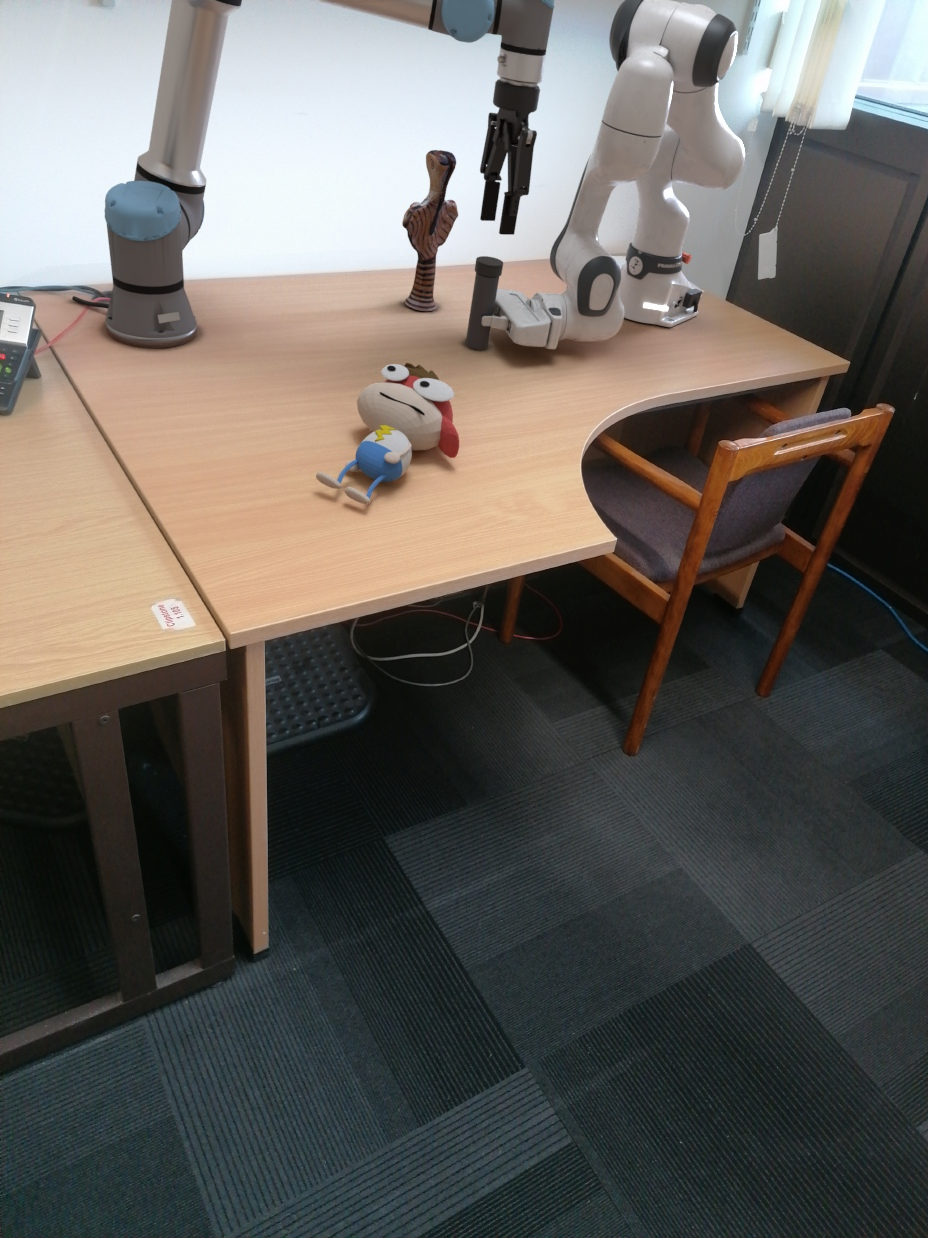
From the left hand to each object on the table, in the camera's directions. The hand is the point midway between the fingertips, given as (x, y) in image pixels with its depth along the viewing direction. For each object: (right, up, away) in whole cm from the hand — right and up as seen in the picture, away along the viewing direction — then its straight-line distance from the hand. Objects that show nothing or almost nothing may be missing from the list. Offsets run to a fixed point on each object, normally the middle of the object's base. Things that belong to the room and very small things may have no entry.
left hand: (496, 226), depth 161 cm
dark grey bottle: (-3, -17, +14) cm, 22 cm away
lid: (-1, -5, +4) cm, 6 cm away
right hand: (-3, -13, +10) cm, 16 cm away
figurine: (-15, -5, +26) cm, 31 cm away
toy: (-17, -47, -26) cm, 57 cm away
